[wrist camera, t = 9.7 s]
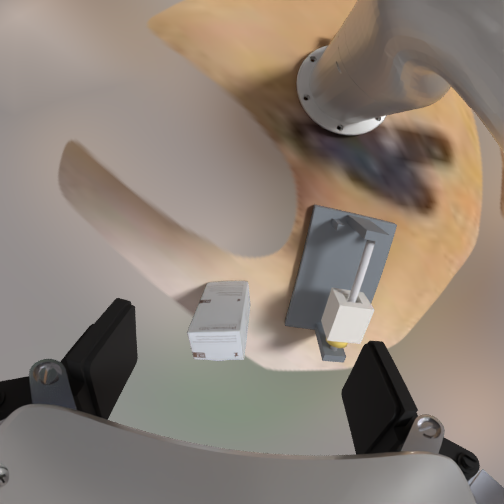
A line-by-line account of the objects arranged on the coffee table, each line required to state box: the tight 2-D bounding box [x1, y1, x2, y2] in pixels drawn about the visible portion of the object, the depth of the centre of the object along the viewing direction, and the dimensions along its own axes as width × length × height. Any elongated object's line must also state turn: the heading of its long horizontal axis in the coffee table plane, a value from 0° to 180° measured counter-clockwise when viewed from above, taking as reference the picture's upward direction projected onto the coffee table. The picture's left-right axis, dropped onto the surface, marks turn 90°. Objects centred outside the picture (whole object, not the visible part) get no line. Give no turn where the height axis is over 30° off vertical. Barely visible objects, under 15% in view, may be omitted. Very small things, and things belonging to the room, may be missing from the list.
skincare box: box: [187, 281, 250, 361], centre depth 36 cm, size 6×4×12 cm
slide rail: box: [285, 205, 397, 362], centre depth 36 cm, size 18×12×8 cm, turn 170°
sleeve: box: [321, 288, 374, 344], centre depth 34 cm, size 5×4×4 cm
